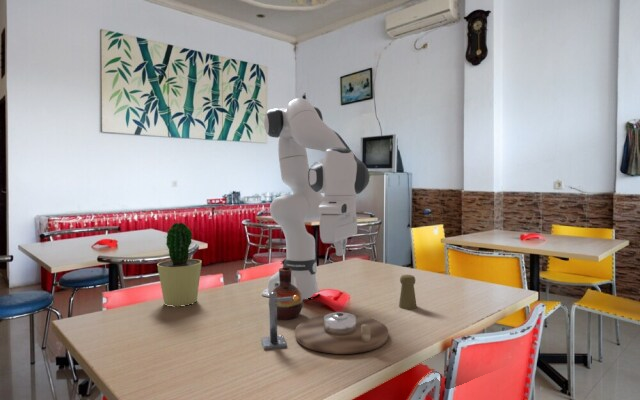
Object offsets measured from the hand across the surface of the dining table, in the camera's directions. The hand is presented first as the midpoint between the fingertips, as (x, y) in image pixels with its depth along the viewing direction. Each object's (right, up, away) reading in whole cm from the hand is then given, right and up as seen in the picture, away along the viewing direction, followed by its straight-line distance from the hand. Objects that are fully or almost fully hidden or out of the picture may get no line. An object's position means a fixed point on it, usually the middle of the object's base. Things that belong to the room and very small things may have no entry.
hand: (340, 255), depth 114 cm
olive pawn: (+25, -22, +27) cm, 43 cm away
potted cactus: (-57, -23, +35) cm, 71 cm away
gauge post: (-16, -23, -4) cm, 29 cm away
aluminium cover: (0, -21, +1) cm, 21 cm away
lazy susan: (0, -23, +1) cm, 23 cm away
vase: (-17, -23, +19) cm, 34 cm away
